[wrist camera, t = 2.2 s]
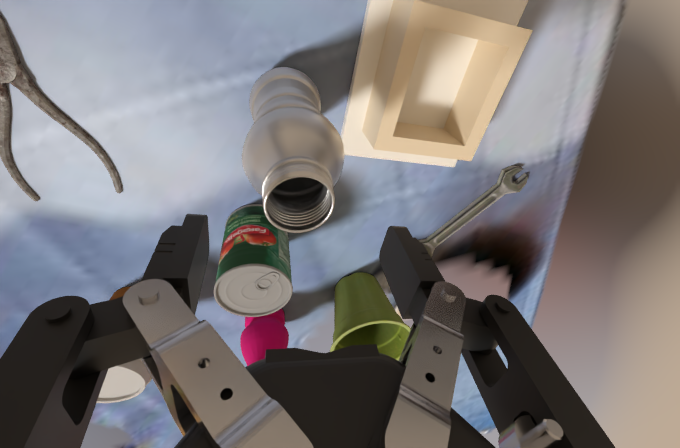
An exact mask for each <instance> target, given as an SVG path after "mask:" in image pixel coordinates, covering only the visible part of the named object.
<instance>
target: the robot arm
mask: <svg viewBox="0 0 680 448" xmlns="http://www.w3.org/2000/svg"><path fill="white" fill-rule="evenodd" d="M208 256H209V232H208V217H207V215H197V214H187V215H186V217H185V220H184V222H183V225H182V226H171V227H169V228H168V229H167V230H166V231H165V232H163V233H162V235H161V237H160V240H159V242H158V245H157V246H156V249H155V252H154V253H153V255H152V258H151V260H150V262H149V264H148V266H147V269H146V271H145V273H144V275H143V278H142V280H141V282H139V283H137V284H135V285H133V286H132V287H130V288H129V289H128V290H127V291H126V292H125V294H124V296H122V297H119V298H116V299H113V300H109V301H104V302H100V303H95V304H91V305H89V303H88V301H87V300H86V299H84V298H82V297H79V296H64V297H59V298H55V299H52V300H50V301H47V302H45V303H43V304H42V305H40V306H39V307H37V308H36V309H35V310H33V311H32V312H31V314H30V315H29V316H28V318H27V319H26V321H25V322H24V324H23V325H22V327H21V328H20V330H19V331H18V333H17V334H16V336H15V337H14V339H13V340H12V342H11V344H10V345H9V347H8V348H7V350H6V351H5V353H4V354H3V356H2V357H1V359H0V448H80V447H81V444H82V441H83V439H84V436H85V433H86V430H87V427H88V425H89V422H90V419H91V416H92V413H93V411H94V408H95V405H96V402H97V399H98V397H99V394H100V391H101V388H102V385H103V383H104V380H105V377H106V374H107V371H108V369H109V368H112V367H115V366H118V365H121V364H125V363H128V362H131V361H134V360H137V359H141V360H142V362H143V364H144V365H145V367H146V369H147V370H148V372H149V374H150V376H151V377H152V379H153V381H154V382H155V384H156V386H157V387H158V389H159V391H160V392H161V394H162V396H163V398H164V400H165V402H166V404H167V406H168V409H169V411H170V413H171V415H172V417H173V419H174V421H175V423H176V424H177V426H178V428H179V429H180V431H181V433H182V435H183V436H184V437H183V438H182V439H181V440H180V441H179V443H178V444H177V445H176V446H175V447H174V448H495V447H494V446H493V445H492V444H491V443H490V442H489V441H488V440H487V439H486V438H484V437H483V436H482V435H481V434H480V433H479V432H478V431H477V430H476V429H475V428H473V427H472V426H471V425H470V424H469V423H468V422H467V421H466V420H465V419H463V418H462V417H461V416H460V415H459V414H458V413H457V412H456V411H455V410H454V409H452V408H451V404H452V399H453V393H454V388H455V382H456V377H457V372H458V366H459V361H460V355H461V353H462V355H463V357H464V359H465V361H466V363H467V366H468V368H469V370H470V372H471V374H472V376H473V379H474V381H475V383H476V385H477V387H478V389H479V391H480V394H481V396H482V398H483V400H484V402H485V404H486V406H487V409H488V411H489V413H490V415H491V417H492V419H493V422H494V424H495V426H496V428H497V430H498V432H499V434H500V436H499V441H498V442H499V448H615V446H614V445H613V444H612V442H611V441H610V439H609V438H608V437H607V435H606V434H605V432H604V431H603V429H602V428H601V427H600V425H599V424H598V423H597V421H596V420H595V418H594V417H593V415H592V414H591V413H590V411H589V410H588V409H587V407H586V405H585V404H584V403H583V401H582V400H581V398H580V397H579V396H578V394H577V393H576V392H575V390H574V388H573V387H572V386H571V384H570V383H569V381H568V380H567V379H566V377H565V376H564V375H563V373H562V372H561V370H560V369H559V367H558V366H557V364H556V363H555V362H554V360H553V359H552V357H551V356H550V355H549V353H548V352H547V350H546V349H545V348H544V346H543V345H542V343H541V342H540V341H539V339H538V338H537V336H536V335H535V334H534V332H533V331H532V329H531V328H530V326H529V325H528V324H527V322H526V321H525V319H524V318H523V316H522V315H521V314H520V312H519V311H518V309H517V308H516V307H515V306H514V305H513V304H512V303H511V302H510V301H508V300H507V299H505V298H503V297H501V296H498V295H489V296H487V297H486V298H485V300H484V301H483V302H480V301H477V300H473V299H469V298H466V297H465V295H464V293H463V292H462V291H461V290H460V289H459V288H458V287H457V286H455V285H453V284H451V283H449V282H445V280H444V278H443V277H442V275H441V273H440V272H439V270H438V268H437V267H436V265H435V263H434V262H433V261H432V258H431V257H430V255H429V254H428V251H427V250H426V248H425V246H424V245H423V244H422V243H421V242H420V241H419V240H417V239H416V238H412V236H411V234H410V232H409V231H408V229H407V228H406V227H399V226H390V227H389V228H388V230H387V233H386V236H385V238H384V241H383V244H382V247H381V250H380V256H379V258H380V264H381V266H382V269H383V271H384V274H385V276H386V279H387V281H388V284H389V286H390V289H391V291H392V294H393V296H394V299H395V301H396V304H397V306H398V309H399V311H400V314H401V316H402V319H413V321H414V323H413V325H412V327H411V330H410V332H409V335H408V338H407V340H406V343H405V345H404V348H403V351H402V353H401V356H400V358H399V361H398V360H396V359H394V358H392V357H390V356H388V355H385V354H382V353H379V351H378V348H377V344H368V345H351V346H347V347H344V348H341V349H338V350H335V351H332V352H329V353H318V352H313V351H308V350H303V349H298V348H285V349H266V354H265V359H262V360H259V361H256V362H254V363H252V364H250V365H249V366H247V367H244V365H243V364H242V363H241V362H240V360H239V359H238V358H237V357H236V356H235V354H234V353H233V352H232V351H231V349H230V348H229V347H228V346H227V344H226V343H225V342H224V341H223V339H222V338H221V337H220V336H219V334H218V333H217V332H216V331H215V329H214V328H213V327H212V326H211V324H210V323H209V322H208V321H206V320H203V321H199V320H198V319H197V318H196V316H195V312H196V308H197V304H198V299H199V295H200V291H201V286H202V282H203V278H204V274H205V269H206V265H207V261H208ZM498 345H499V347H500V348H501V350H502V352H503V353H504V355H505V357H506V359H507V362H508V369H507V368H506V366H505V364H504V363H503V361H502V359H501V357H500V356H499V354H498V352H497V350H496V349H495V348H496V347H497V346H498Z"/></svg>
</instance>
